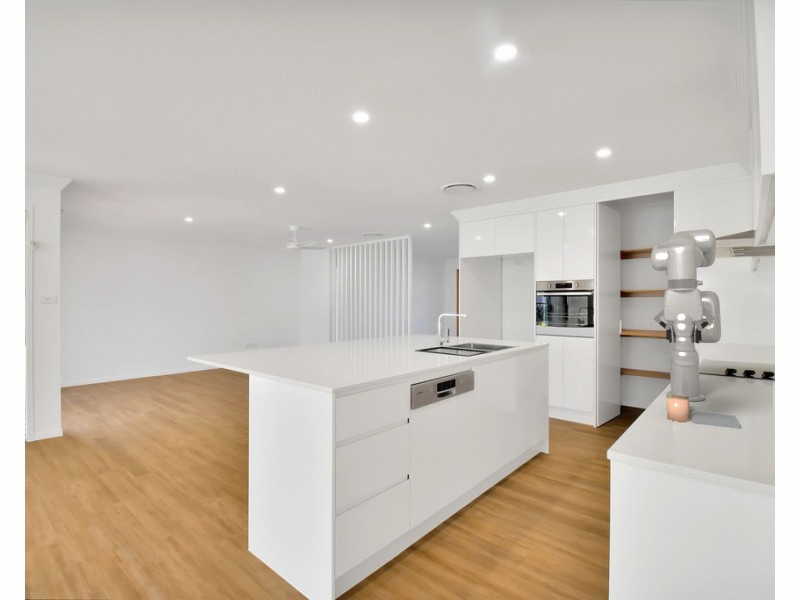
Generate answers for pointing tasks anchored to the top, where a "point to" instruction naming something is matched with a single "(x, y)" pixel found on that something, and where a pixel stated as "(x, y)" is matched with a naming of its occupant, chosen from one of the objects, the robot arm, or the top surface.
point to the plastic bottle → (683, 341)
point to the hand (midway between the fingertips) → (683, 342)
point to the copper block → (683, 397)
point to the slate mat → (715, 419)
